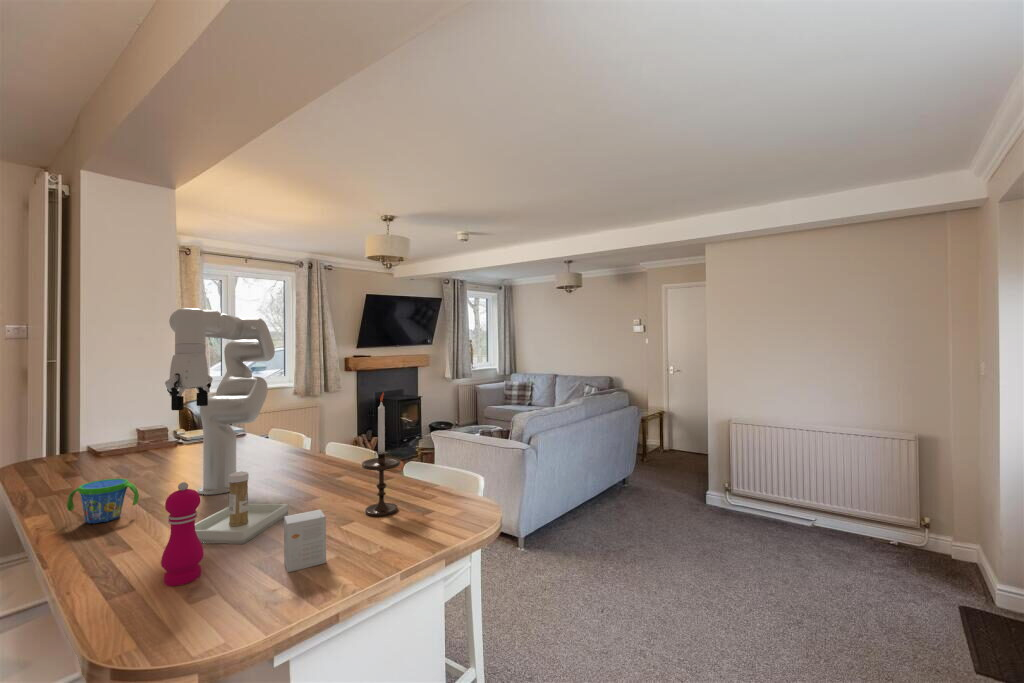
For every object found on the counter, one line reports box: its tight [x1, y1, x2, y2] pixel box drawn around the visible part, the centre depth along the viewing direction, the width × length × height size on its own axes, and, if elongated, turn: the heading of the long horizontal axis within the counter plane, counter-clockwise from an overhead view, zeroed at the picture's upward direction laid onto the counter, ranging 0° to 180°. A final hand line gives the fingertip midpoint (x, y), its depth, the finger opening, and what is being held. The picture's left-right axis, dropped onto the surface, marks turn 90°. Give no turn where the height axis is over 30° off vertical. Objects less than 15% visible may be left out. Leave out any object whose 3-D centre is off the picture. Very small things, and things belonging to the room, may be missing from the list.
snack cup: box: [66, 478, 139, 525], centre depth 130 cm, size 16×10×10 cm
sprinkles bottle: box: [228, 471, 249, 526], centre depth 124 cm, size 5×5×14 cm
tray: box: [195, 503, 289, 545], centre depth 124 cm, size 20×16×3 cm
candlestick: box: [361, 391, 401, 518], centre depth 136 cm, size 11×11×35 cm
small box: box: [283, 509, 327, 573], centre depth 103 cm, size 8×6×10 cm
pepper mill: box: [160, 481, 205, 587], centre depth 97 cm, size 7×7×20 cm
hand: (190, 407), depth 138 cm, fingers open, 9 cm apart
